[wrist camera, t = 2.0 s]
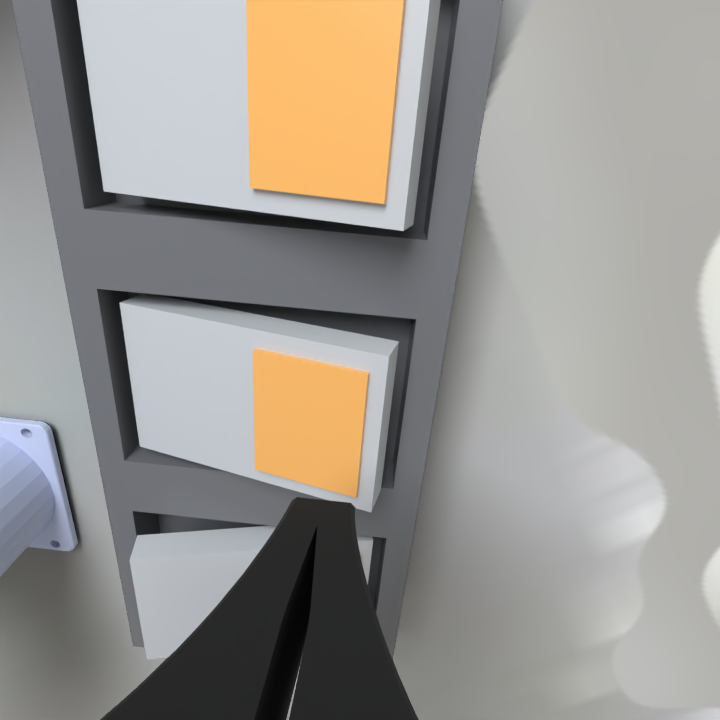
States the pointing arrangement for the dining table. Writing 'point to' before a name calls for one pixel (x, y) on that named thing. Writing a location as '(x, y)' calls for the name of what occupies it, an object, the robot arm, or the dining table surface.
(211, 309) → the outlet rocker
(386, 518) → the power strip
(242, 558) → the outlet rocker
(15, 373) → the dining table surface
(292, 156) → the rocker outlet
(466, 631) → the dining table surface
